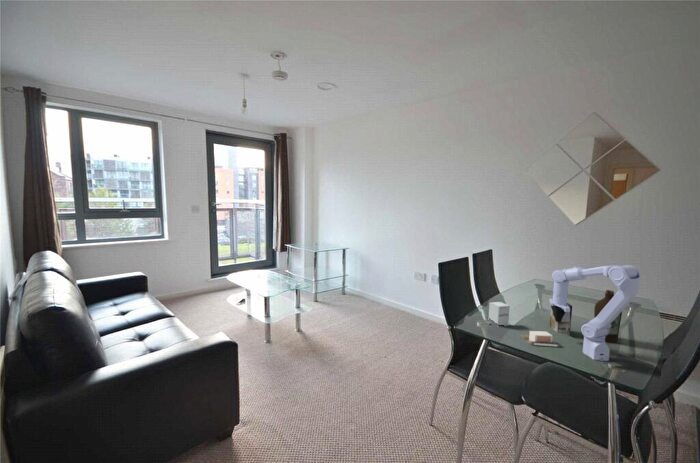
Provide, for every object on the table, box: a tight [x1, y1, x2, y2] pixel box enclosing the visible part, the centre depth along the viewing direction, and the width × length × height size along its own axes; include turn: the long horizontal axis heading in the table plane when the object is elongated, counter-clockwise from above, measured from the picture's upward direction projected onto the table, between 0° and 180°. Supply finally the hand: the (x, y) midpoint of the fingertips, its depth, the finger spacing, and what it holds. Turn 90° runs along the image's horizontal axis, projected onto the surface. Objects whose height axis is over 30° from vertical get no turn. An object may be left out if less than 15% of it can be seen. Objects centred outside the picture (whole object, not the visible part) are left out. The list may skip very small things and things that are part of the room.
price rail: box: [530, 341, 561, 348], centre depth 143 cm, size 1×12×2 cm, turn 82°
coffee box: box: [549, 302, 573, 337], centre depth 161 cm, size 9×6×16 cm
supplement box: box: [488, 301, 511, 327], centre depth 169 cm, size 7×7×13 cm
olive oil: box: [593, 289, 623, 344], centre depth 154 cm, size 11×11×25 cm
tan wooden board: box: [519, 333, 561, 348], centre depth 148 cm, size 12×13×2 cm
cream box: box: [528, 330, 553, 343], centre depth 146 cm, size 5×8×4 cm, turn 89°
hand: (557, 321), depth 149 cm, fingers closed
